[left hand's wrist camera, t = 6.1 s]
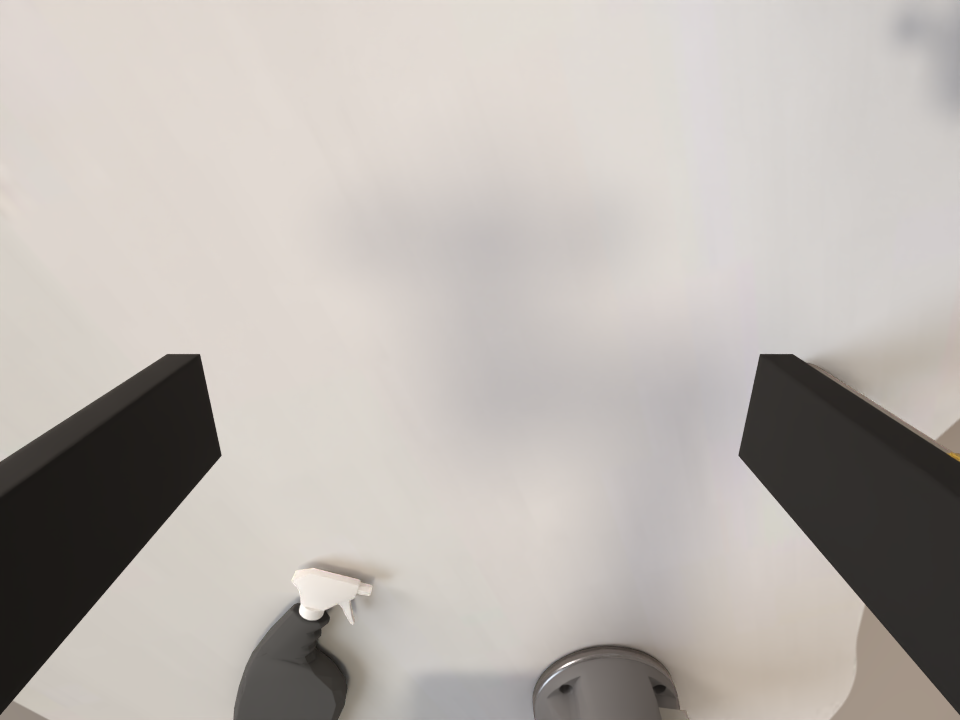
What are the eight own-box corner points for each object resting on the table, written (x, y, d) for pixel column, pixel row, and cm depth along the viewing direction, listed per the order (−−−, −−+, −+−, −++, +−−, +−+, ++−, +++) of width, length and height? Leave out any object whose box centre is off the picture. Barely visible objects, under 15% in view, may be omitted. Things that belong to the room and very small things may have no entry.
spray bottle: (233, 716, 58) (279, 548, 49) (329, 739, 59) (390, 578, 51) (220, 744, 55) (267, 571, 47) (322, 767, 56) (385, 602, 48)
